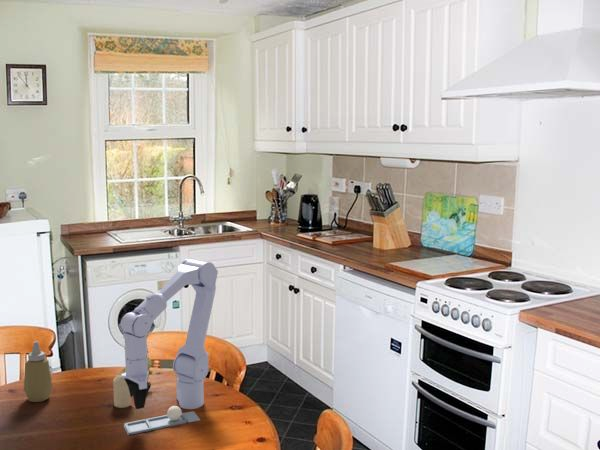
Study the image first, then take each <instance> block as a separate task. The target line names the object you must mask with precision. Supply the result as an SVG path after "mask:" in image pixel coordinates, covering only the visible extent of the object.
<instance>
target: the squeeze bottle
mask: <svg viewBox="0 0 600 450" xmlns="http://www.w3.org/2000/svg"><path fill="white" fill-rule="evenodd" d="M32 345H33V346H32V350H31V352H30V353H28V355H27V358H28V360H27V361H25V364H24V376H23V377H24V380H23V390H24V393H25V396H26V397H27V399H28V401H29V402H31V403H40V402H44V401H46V400H47V399H49V397H50V396H51V391H52V390H53V379H52V373H51V368H50V361H49V359H48V358H46V352H44V351H42V350H41V348H40V343H39V341H33V344H32Z"/></svg>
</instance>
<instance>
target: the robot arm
mask: <svg viewBox="0 0 600 450" xmlns="http://www.w3.org/2000/svg"><path fill="white" fill-rule="evenodd" d="M218 274H219V271H218V269H217V267H216V266H215V265H214V264H213V262H210V261H201V260H197V259H193V258H186V259H184V260H183V261H182V262H181V263H180V264H179V265H177V269H176V271H175V273H174V274H173V275H172V277H171V278H170V279H169V280H168V281H167V282H166V283H165V284H164V286H163V287H162V288H161V289H160V290H159V291H158V292H157V293H155V292H152V293H150V294H148V295H147V296H146V297H145V299H144V300H143V301H142V302H141V303H140V304H139V305H138V306H136V307H134V310H133V311H130V312H127V313H125V314H124V315H123V316H122V318H121V320H120V323H119V324H118V328H119V330H120V331H121V332H122V336H123V337H122V338H123V339H124V348H125V349H124V355H125V356H124V357H125V367H126V373H123V374H121V373H120V374H121V377H122V378H124V379H125V381H126V383H127V385H128V388H129V392H130V396H131V397H132V396H133V398H134V404H135V407H136V408H135V409H136V410H139V409H145V405H146V401H147V397H148V396H147V395H148V392H149V390H150V389H151V386H152V383H151V382H150V381H148V382H147V378H148V379H149V377H148V374H149V372H148V365H147V356H148V342H147V338H148V337H147V335H148V334H149V333H150V331H151V328H152V325H153V324H154V321H155V320H156V319H157V318H158V317H159V316H160V315H161V314H162V313H163V312H164V311H165V310H166V309H167V307H168V304H167V302H168V301H169V300H170V299H171V298H173V297H174V296H175V295H176V294H178V292H180V291H181V290H182V289H183V288H184V287H185V286H188V285H189V286H191V287H192V288H193V290H194V291H195V297H194V301H193V307H192V311H191V316H190V320H189V325H188V329H187V330H188V331H187V335H186V339H185V343H184V344H183V345H182V346H181V347H178V349H177V354H176V356H175V358H174V359H173V363H172V370H173V371H174V373H175V374H176V377H177V379H176V382H175V383H176V384H175V386H176V387H175V388H176V400H177V401H178V407H179V408H182V409H186V410H193V409H199V408H201V407H202V406H203V405H204V403H205V401H204V380H205V379H206V377H207V375H208V374H209V369H210V366H209V358H210V355H209V353H208V352H207V350H206V349H205V342H206V337H207V333H208V328H209V323H210V318H211V313H212V309H213V304H214V298H215V294H216V288H217V287H216V286H217V285H216V284H217V283H216V282H217V278H218Z"/></svg>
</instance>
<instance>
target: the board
mask: <svg viewBox="0 0 600 450" xmlns="http://www.w3.org/2000/svg"><path fill="white" fill-rule="evenodd" d="M198 421H201V419H200V417H199V416H198V415H197V414H196V412H195V411H193V410H192V411H187V412H182V415H181V417H180V418H179V419H178V420H176V421H172V420H170V419H169V418H168V416H167V414H164V415H159V416H154V417H149V418H144V419H139V420H135V421H130V422H124V423H123V428H124V430H125V432H126V434H127V435H128V436H131V435H134V434H139V433H145V432H150V431H154V430H159V429H165V428H167V427H174V426H179V425H184V424H189V423H192V422H198Z"/></svg>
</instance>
